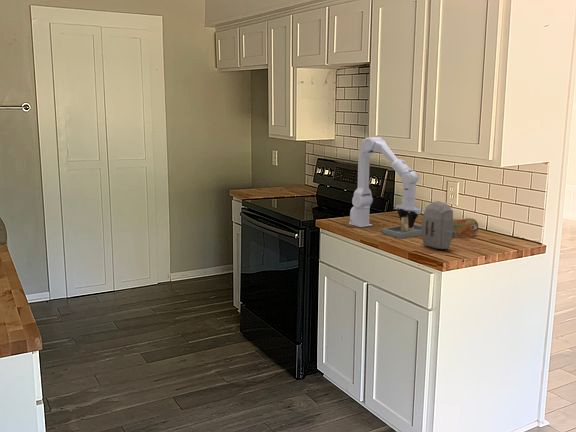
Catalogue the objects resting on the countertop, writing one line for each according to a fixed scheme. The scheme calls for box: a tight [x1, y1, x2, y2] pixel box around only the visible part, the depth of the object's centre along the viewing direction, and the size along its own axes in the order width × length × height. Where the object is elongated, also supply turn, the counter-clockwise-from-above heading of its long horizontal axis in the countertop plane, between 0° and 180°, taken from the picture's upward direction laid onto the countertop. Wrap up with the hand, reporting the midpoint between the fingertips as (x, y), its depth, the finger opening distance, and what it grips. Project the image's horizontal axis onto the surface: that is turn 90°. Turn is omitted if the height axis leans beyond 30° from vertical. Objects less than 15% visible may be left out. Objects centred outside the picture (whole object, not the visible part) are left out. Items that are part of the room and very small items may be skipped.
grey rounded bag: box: [420, 200, 454, 250], centre depth 238 cm, size 15×8×20 cm, turn 30°
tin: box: [452, 217, 479, 238], centre depth 260 cm, size 15×3×8 cm, turn 105°
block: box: [400, 215, 414, 232], centre depth 264 cm, size 4×4×6 cm
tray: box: [381, 223, 422, 240], centre depth 265 cm, size 12×20×2 cm, turn 124°
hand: (407, 226), depth 264 cm, fingers closed on block, 4 cm apart
